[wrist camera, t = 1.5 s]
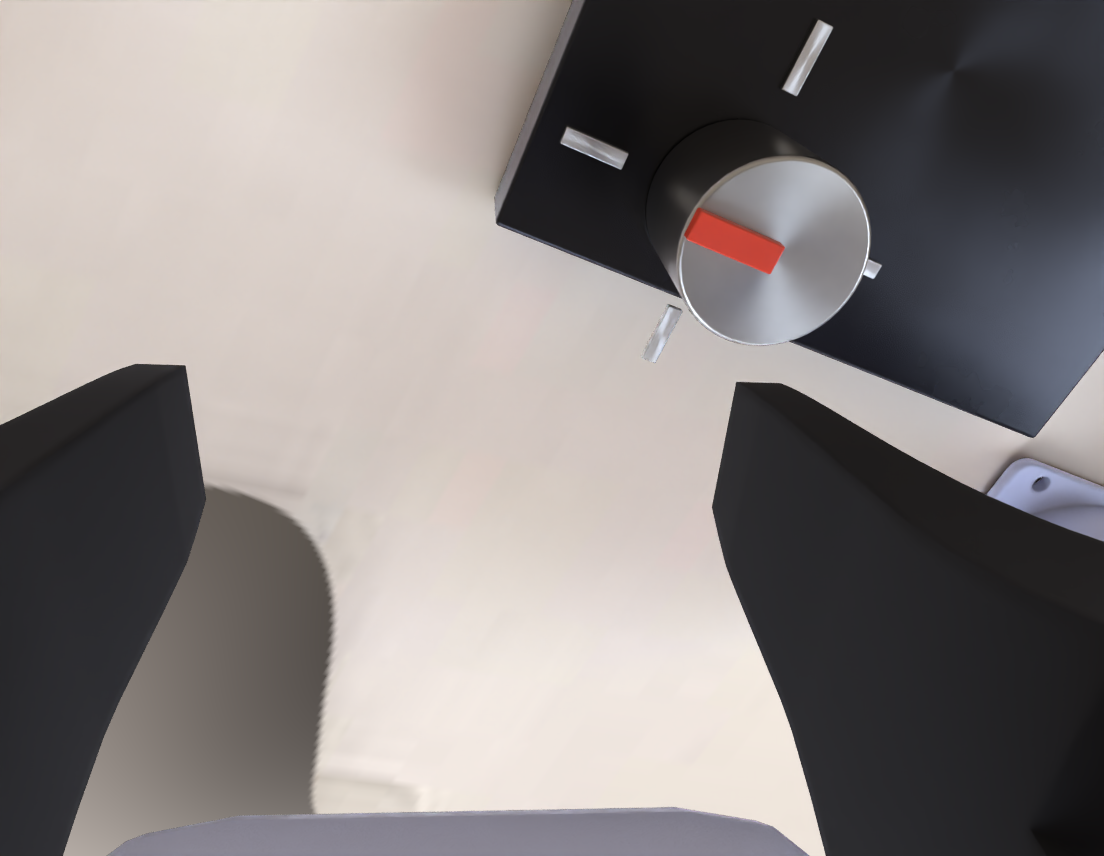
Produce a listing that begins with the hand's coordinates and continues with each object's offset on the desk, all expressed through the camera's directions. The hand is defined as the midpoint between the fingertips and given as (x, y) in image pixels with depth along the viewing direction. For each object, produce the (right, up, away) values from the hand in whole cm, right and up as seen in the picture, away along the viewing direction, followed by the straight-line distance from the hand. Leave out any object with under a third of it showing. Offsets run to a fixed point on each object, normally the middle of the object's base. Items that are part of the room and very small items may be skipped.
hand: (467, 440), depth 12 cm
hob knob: (+5, +5, +7) cm, 10 cm away
